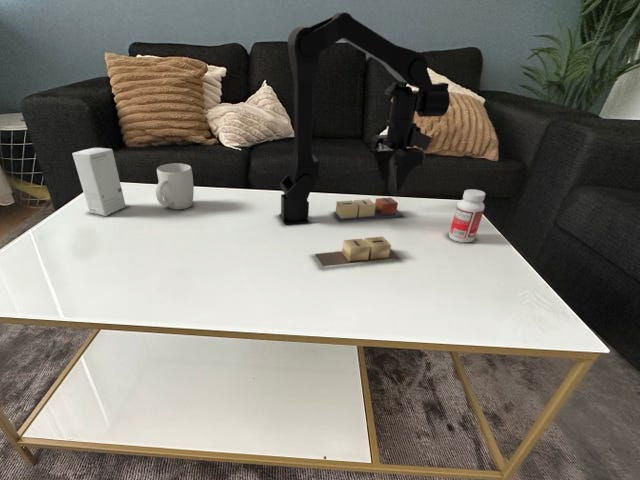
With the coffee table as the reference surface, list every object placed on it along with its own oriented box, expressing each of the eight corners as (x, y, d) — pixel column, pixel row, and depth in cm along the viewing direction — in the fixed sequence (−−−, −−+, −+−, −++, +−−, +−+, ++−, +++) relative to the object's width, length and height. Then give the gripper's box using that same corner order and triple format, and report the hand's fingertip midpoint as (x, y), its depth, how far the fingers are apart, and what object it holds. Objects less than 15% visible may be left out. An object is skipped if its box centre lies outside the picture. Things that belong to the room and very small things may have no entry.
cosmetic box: (105, 216, 107) (89, 155, 97) (88, 213, 109) (70, 152, 99) (127, 206, 113) (113, 147, 103) (110, 203, 114) (94, 145, 105)
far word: (340, 221, 107) (342, 208, 105) (333, 213, 112) (334, 200, 109) (402, 216, 111) (405, 203, 109) (392, 209, 115) (395, 195, 113)
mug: (176, 198, 119) (170, 161, 112) (202, 203, 116) (197, 165, 109) (148, 212, 110) (140, 173, 103) (175, 218, 107) (169, 178, 101)
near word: (322, 268, 87) (324, 252, 85) (314, 256, 92) (315, 240, 89) (398, 260, 91) (402, 245, 88) (387, 249, 95) (390, 234, 93)
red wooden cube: (380, 215, 110) (382, 203, 108) (374, 209, 113) (375, 198, 111) (396, 214, 111) (398, 202, 109) (388, 208, 114) (390, 197, 112)
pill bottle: (470, 233, 103) (484, 188, 96) (477, 243, 98) (492, 197, 91) (445, 232, 103) (458, 187, 96) (451, 242, 99) (465, 196, 92)
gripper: (452, 123, 92) (435, 194, 102) (413, 109, 106) (401, 172, 116) (408, 125, 90) (395, 197, 100) (374, 110, 104) (365, 175, 114)
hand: (390, 184), depth 107 cm, fingers open, 9 cm apart
